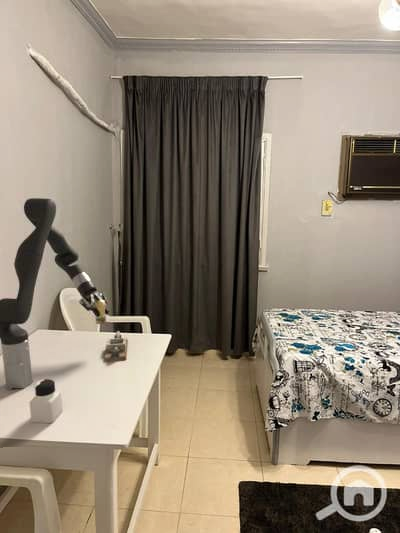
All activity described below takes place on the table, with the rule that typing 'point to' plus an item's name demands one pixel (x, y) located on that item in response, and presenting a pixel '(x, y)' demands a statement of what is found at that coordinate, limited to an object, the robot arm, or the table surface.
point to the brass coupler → (101, 308)
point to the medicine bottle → (45, 402)
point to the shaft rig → (116, 348)
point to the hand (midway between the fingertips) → (103, 314)
